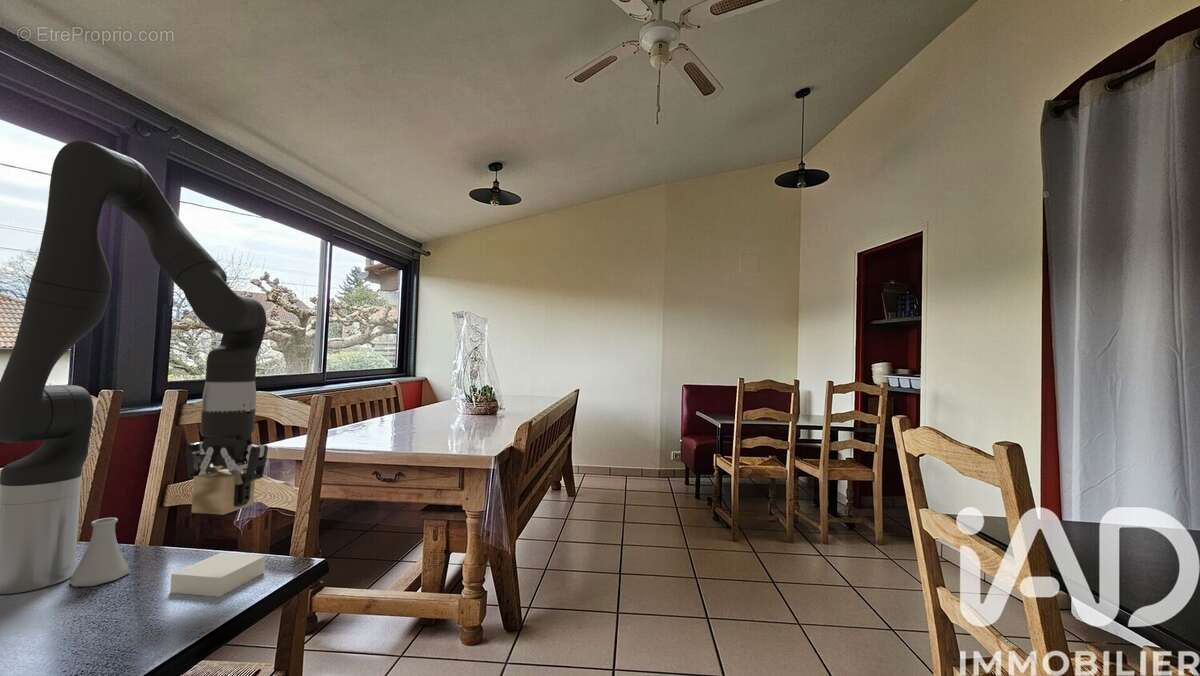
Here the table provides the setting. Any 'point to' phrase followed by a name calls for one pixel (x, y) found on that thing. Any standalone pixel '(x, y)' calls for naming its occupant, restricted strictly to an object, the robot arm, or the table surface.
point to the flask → (101, 557)
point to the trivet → (217, 574)
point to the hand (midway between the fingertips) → (223, 504)
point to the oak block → (216, 493)
